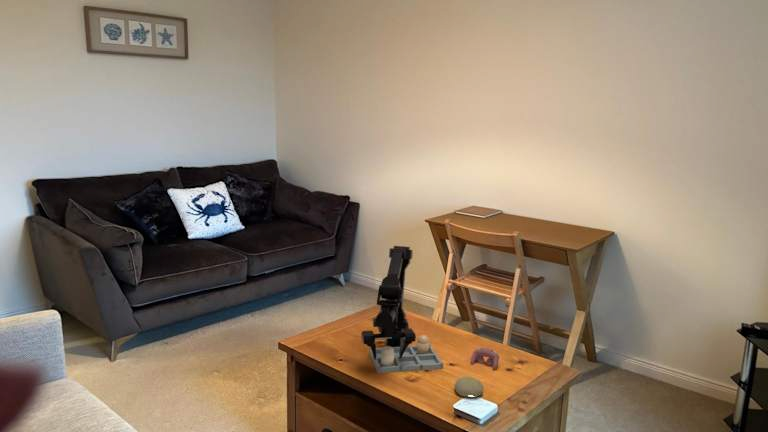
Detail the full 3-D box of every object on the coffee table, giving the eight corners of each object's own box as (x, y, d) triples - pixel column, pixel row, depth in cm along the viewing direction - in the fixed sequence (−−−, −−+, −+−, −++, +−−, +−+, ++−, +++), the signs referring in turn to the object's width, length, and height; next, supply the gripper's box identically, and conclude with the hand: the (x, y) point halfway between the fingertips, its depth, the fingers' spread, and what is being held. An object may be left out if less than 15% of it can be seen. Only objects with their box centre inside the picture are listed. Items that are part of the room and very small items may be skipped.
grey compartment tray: (430, 350, 227) (430, 344, 226) (443, 369, 211) (443, 363, 211) (369, 354, 222) (369, 348, 221) (377, 374, 206) (378, 368, 206)
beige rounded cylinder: (426, 351, 224) (427, 332, 223) (430, 357, 220) (431, 337, 218) (414, 352, 223) (415, 333, 222) (418, 357, 219) (419, 338, 217)
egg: (392, 363, 214) (392, 343, 212) (395, 369, 209) (395, 348, 208) (379, 364, 213) (380, 344, 211) (382, 370, 208) (383, 349, 207)
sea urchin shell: (478, 397, 189) (463, 376, 191) (461, 408, 193) (447, 387, 195) (489, 386, 197) (475, 366, 198) (473, 396, 201) (459, 376, 202)
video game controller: (498, 370, 215) (501, 351, 217) (495, 370, 211) (499, 350, 213) (471, 365, 219) (475, 346, 221) (469, 364, 215) (472, 345, 216)
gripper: (409, 307, 217) (407, 347, 220) (359, 310, 213) (357, 350, 216) (417, 319, 206) (415, 360, 209) (364, 322, 202) (363, 364, 206)
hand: (387, 358), depth 210 cm, fingers open, 9 cm apart
